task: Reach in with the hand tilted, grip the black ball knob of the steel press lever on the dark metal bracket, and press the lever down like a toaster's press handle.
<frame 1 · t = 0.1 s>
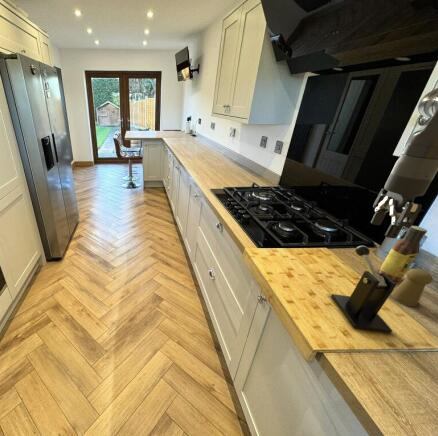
hand: (382, 230, 66), 24 cm above the worktop, tool pointing down, fingers open, 8 cm apart
cork: (403, 299, 76), on the worktop
lever: (369, 265, 67), point 14 cm above the worktop, hinge at 25.0°
bracket: (358, 313, 69), on the worktop
sauce bottle: (388, 276, 86), on the worktop
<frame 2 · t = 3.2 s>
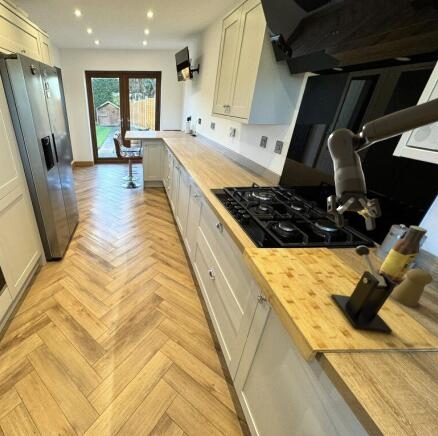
hand: (355, 228, 74), 21 cm above the worktop, tool tilted 45°, fingers open, 8 cm apart
nothing on the worktop moved.
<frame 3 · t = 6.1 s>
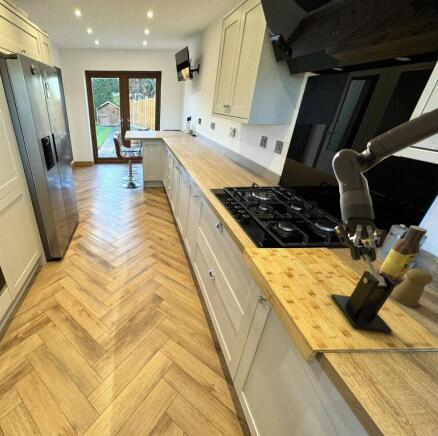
hand: (364, 260, 69), 14 cm above the worktop, tool tilted 45°, fingers closed on lever, 3 cm apart
lever: (369, 265, 67), point 14 cm above the worktop, hinge at 25.0°, touching gripper
everything else where it was.
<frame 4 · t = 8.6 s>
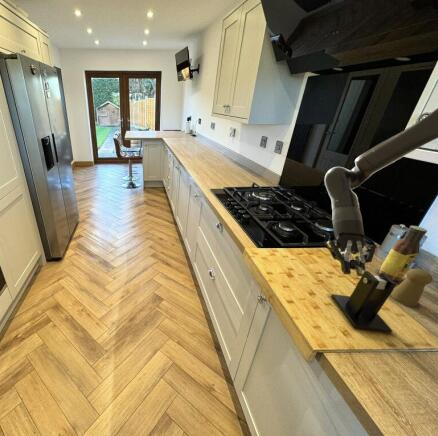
hand: (354, 274, 73), 8 cm above the worktop, tool tilted 45°, fingers closed on lever, 3 cm apart
lever: (363, 272, 69), point 11 cm above the worktop, hinge at -8.0°, touching gripper
everything else where it was.
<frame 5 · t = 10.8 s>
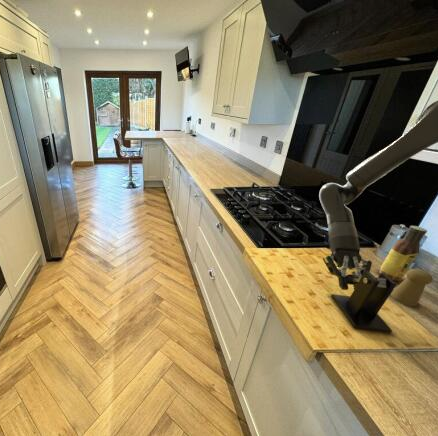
hand: (351, 290, 73), 4 cm above the worktop, tool tilted 50°, fingers closed on lever, 3 cm apart
lever: (362, 280, 69), point 9 cm above the worktop, hinge at -35.9°, touching gripper
everything else where it was.
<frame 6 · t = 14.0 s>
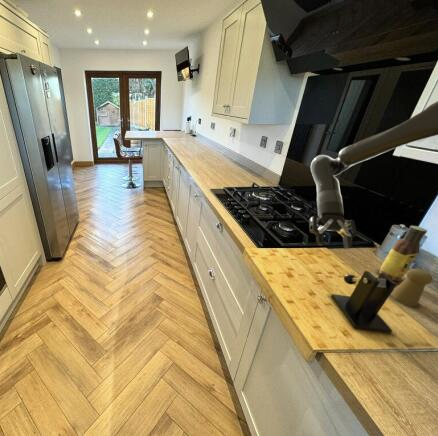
hand: (334, 246, 83), 11 cm above the worktop, tool tilted 45°, fingers open, 8 cm apart
lever: (362, 280, 69), point 9 cm above the worktop, hinge at -35.5°
everything else where it was.
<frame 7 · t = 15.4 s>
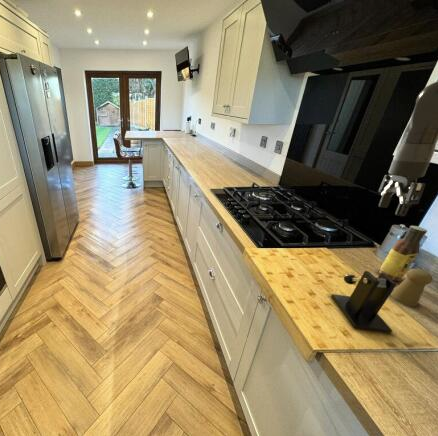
hand: (390, 211, 75), 26 cm above the worktop, tool pointing down, fingers open, 8 cm apart
nothing on the worktop moved.
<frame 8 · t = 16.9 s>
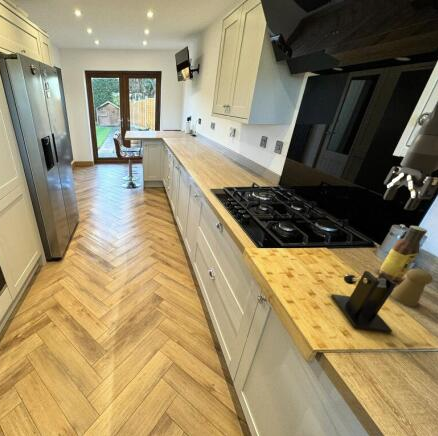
hand: (397, 204, 74), 28 cm above the worktop, tool pointing down, fingers open, 8 cm apart
nothing on the worktop moved.
at the end: lever at -36° (first picture: +25°); the gripper is holding nothing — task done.
